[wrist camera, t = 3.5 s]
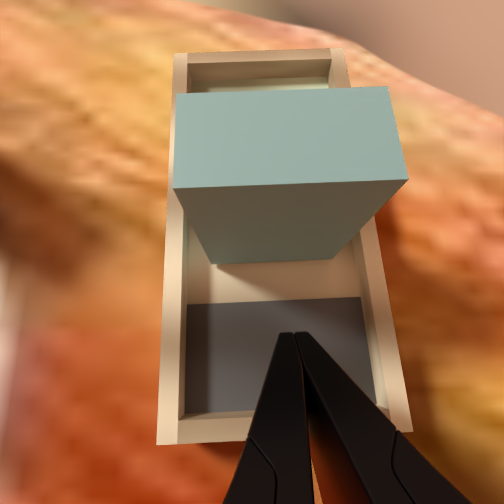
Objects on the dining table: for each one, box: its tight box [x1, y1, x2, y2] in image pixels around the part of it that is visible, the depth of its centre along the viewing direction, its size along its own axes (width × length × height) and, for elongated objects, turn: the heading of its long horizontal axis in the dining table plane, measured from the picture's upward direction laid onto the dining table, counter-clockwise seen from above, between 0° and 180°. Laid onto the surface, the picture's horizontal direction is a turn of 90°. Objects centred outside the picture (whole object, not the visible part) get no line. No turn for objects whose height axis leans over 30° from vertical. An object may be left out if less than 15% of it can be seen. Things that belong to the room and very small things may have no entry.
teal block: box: [173, 86, 409, 264], centre depth 11 cm, size 3×6×8 cm, turn 92°
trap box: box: [156, 48, 413, 445], centre depth 16 cm, size 20×10×2 cm, turn 3°
